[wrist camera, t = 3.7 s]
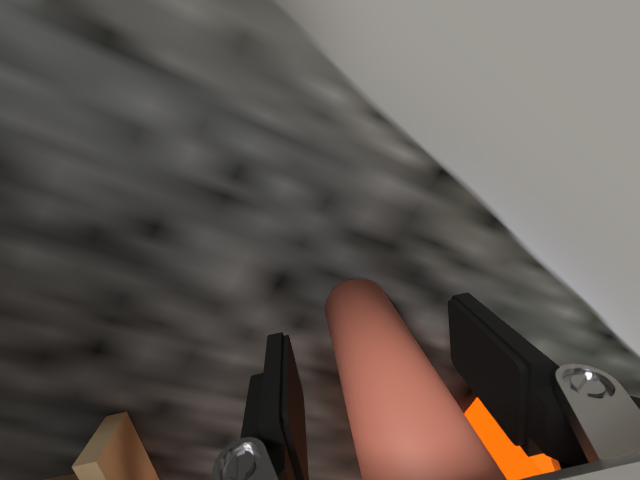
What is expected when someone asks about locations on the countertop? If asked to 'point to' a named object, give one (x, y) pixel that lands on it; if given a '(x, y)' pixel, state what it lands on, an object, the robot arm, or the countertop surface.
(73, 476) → the tan wooden block
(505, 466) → the orange juice
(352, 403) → the sausage
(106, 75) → the countertop surface
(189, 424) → the countertop surface
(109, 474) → the bay
